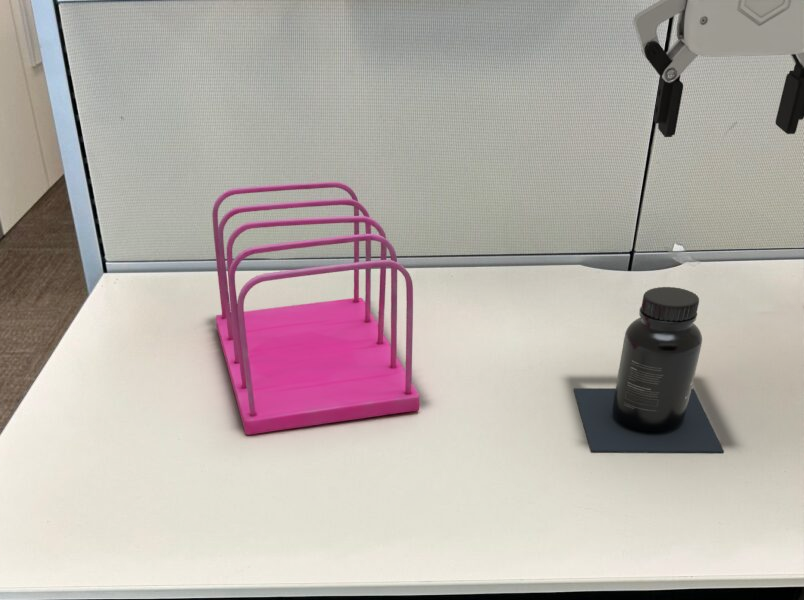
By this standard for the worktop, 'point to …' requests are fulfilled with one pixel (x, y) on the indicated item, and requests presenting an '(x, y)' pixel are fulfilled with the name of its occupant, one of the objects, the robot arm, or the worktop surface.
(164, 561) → the worktop surface
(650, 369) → the supplement bottle
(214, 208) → the file sorter
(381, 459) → the worktop surface
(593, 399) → the mat
